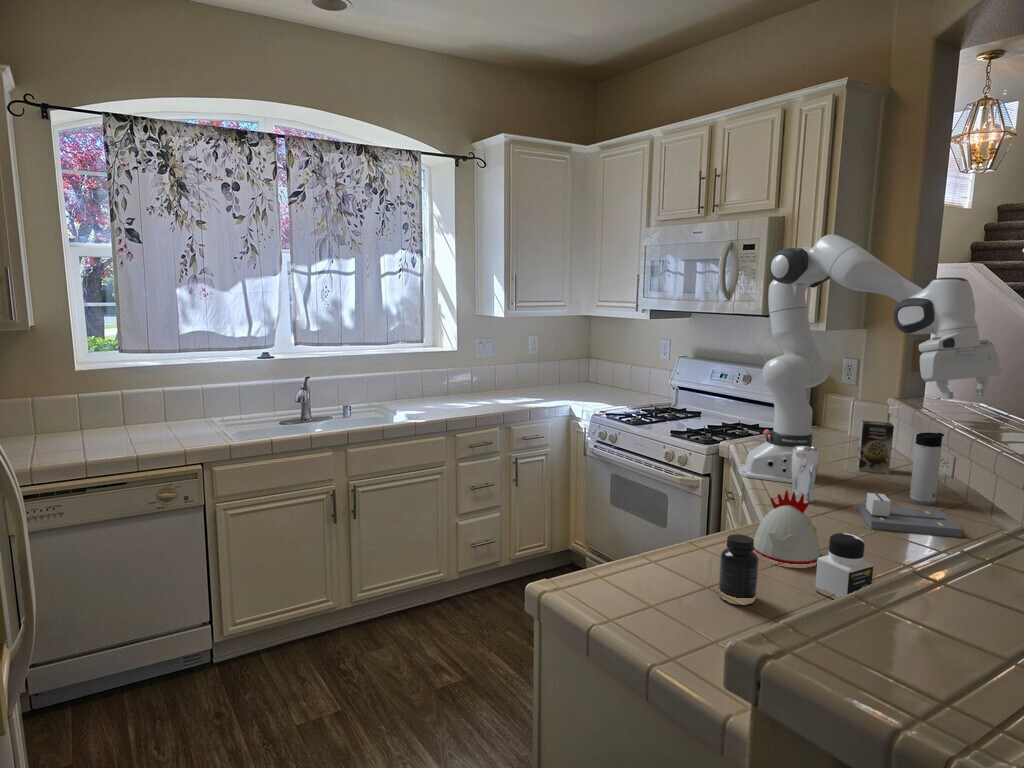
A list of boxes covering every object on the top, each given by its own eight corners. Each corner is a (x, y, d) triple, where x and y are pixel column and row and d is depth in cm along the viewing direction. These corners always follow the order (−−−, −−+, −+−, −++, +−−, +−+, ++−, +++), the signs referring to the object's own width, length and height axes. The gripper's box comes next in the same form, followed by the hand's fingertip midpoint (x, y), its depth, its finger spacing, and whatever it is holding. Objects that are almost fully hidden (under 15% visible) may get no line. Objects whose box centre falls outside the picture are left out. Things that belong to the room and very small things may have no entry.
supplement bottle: (747, 590, 132) (751, 532, 130) (761, 606, 125) (765, 545, 123) (713, 590, 132) (716, 532, 130) (725, 606, 125) (729, 545, 123)
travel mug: (940, 506, 185) (948, 435, 182) (914, 504, 186) (921, 434, 183) (931, 499, 191) (938, 431, 188) (906, 497, 192) (912, 429, 189)
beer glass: (815, 498, 191) (819, 447, 189) (815, 505, 184) (819, 452, 182) (789, 495, 194) (792, 444, 191) (788, 501, 187) (791, 449, 185)
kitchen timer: (814, 574, 140) (819, 505, 138) (746, 559, 147) (750, 493, 145) (823, 552, 152) (828, 488, 150) (760, 539, 159) (764, 478, 157)
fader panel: (870, 529, 167) (871, 520, 166) (857, 511, 180) (857, 503, 180) (961, 537, 162) (962, 529, 161) (940, 518, 175) (941, 510, 175)
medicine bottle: (846, 607, 125) (852, 546, 124) (814, 591, 132) (818, 533, 130) (871, 599, 129) (876, 539, 127) (838, 584, 135) (843, 527, 133)
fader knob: (871, 515, 170) (873, 499, 169) (865, 507, 176) (867, 492, 175) (889, 516, 169) (890, 500, 168) (882, 508, 175) (884, 493, 174)
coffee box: (858, 471, 220) (862, 423, 218) (856, 466, 226) (860, 419, 224) (889, 474, 217) (894, 425, 214) (886, 469, 223) (891, 422, 220)
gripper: (981, 340, 169) (988, 395, 168) (912, 345, 165) (919, 401, 164) (1004, 337, 163) (1011, 393, 162) (933, 342, 159) (940, 400, 158)
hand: (964, 397), depth 163 cm, fingers open, 8 cm apart
